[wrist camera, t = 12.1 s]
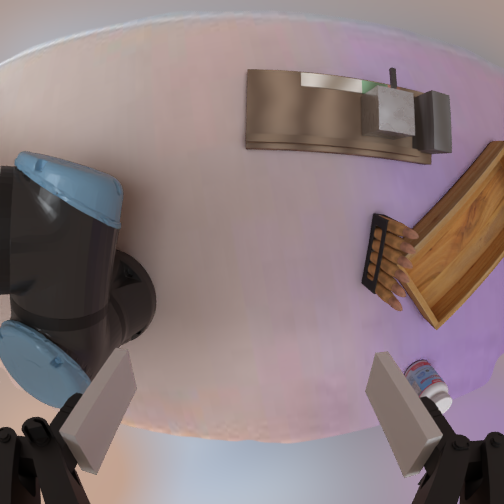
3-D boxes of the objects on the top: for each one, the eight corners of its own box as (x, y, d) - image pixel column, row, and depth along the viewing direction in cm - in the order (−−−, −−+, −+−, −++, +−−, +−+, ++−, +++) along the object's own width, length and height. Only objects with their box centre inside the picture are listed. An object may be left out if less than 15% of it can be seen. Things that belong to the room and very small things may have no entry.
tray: (422, 317, 46) (438, 331, 40) (380, 256, 43) (395, 267, 38) (518, 206, 41) (537, 211, 35) (488, 141, 38) (508, 140, 32)
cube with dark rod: (361, 135, 36) (379, 129, 31) (360, 76, 34) (376, 63, 28) (394, 139, 36) (414, 135, 31) (392, 83, 34) (411, 71, 28)
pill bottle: (432, 356, 48) (460, 390, 37) (424, 381, 49) (449, 415, 38) (406, 361, 48) (433, 398, 37) (399, 386, 49) (422, 423, 38)
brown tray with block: (246, 149, 39) (244, 142, 31) (247, 74, 36) (246, 52, 29) (424, 164, 39) (454, 164, 31) (422, 96, 36) (450, 86, 29)
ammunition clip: (373, 213, 41) (413, 227, 30) (384, 214, 41) (426, 229, 30) (361, 283, 44) (393, 317, 32) (372, 283, 44) (406, 317, 32)
